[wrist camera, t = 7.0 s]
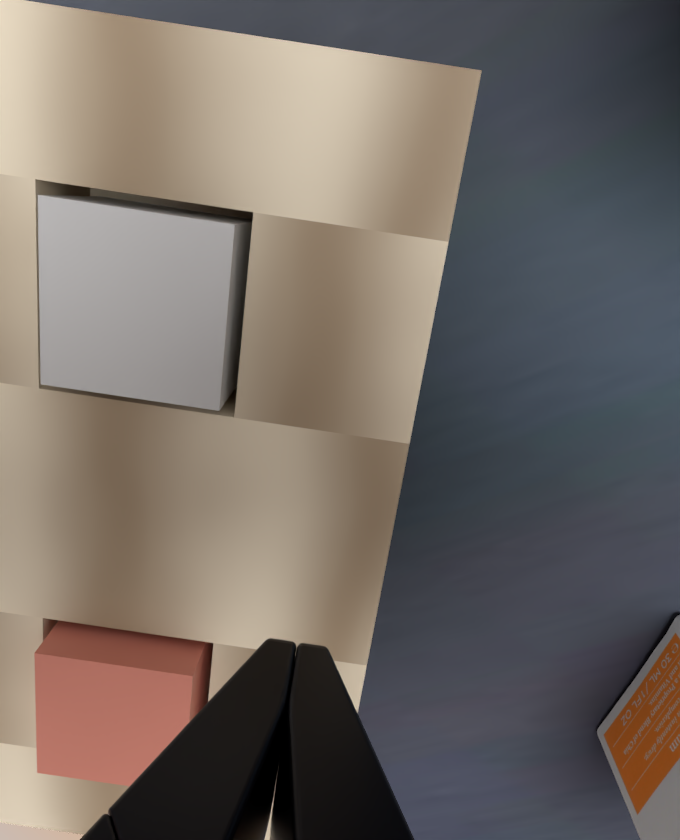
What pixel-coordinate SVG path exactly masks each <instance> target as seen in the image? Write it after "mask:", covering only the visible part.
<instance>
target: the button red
mask: <svg viewBox="0 0 680 840" xmlns="http://www.w3.org/2000/svg"><path fill="white" fill-rule="evenodd" d="M212 653H213V643H210V642H203V641H196V640H189V639H182V638H175V637H169V636H162V635H155V634H148V633H141V632H135V631H128V630H121V629H114V628H107V627H101V626H94V625H87V624H80V623H73V622H66V621H60V620H59V621H58V622H57V623H56V625H55V626H54V627H53V629H52V630H51V631H50V633H49V634H48V635H47V637H46V638H45V639H44V641H43V642H42V644H41V645H40V646H39V648H38V649H37V650H36V652H35V653H34V658H35V703H36V748H37V773H41V774H48V775H55V776H62V777H69V778H76V779H83V780H90V781H96V782H103V783H110V784H117V785H124V786H130V785H131V784H132V783H133V782H134V781H135V780H136V779H137V778H138V777H139V776H140V775H141V774H142V772H143V771H144V770H145V769H146V768H147V767H148V766H149V765H150V764H151V763H152V762H153V761H154V760H155V758H156V757H157V756H158V755H159V754H160V753H161V752H162V751H163V750H164V749H165V748H166V747H167V746H168V744H169V743H170V742H171V741H172V740H173V739H174V738H175V737H176V736H177V735H178V734H179V733H180V732H181V731H182V729H183V728H184V727H185V726H186V725H187V724H188V723H189V722H190V721H191V720H192V719H193V718H194V717H195V715H196V714H197V713H198V712H199V711H200V710H201V709H202V708H203V707H204V706H205V705H206V704H207V703H208V697H209V686H210V675H211V664H212Z"/></svg>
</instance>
